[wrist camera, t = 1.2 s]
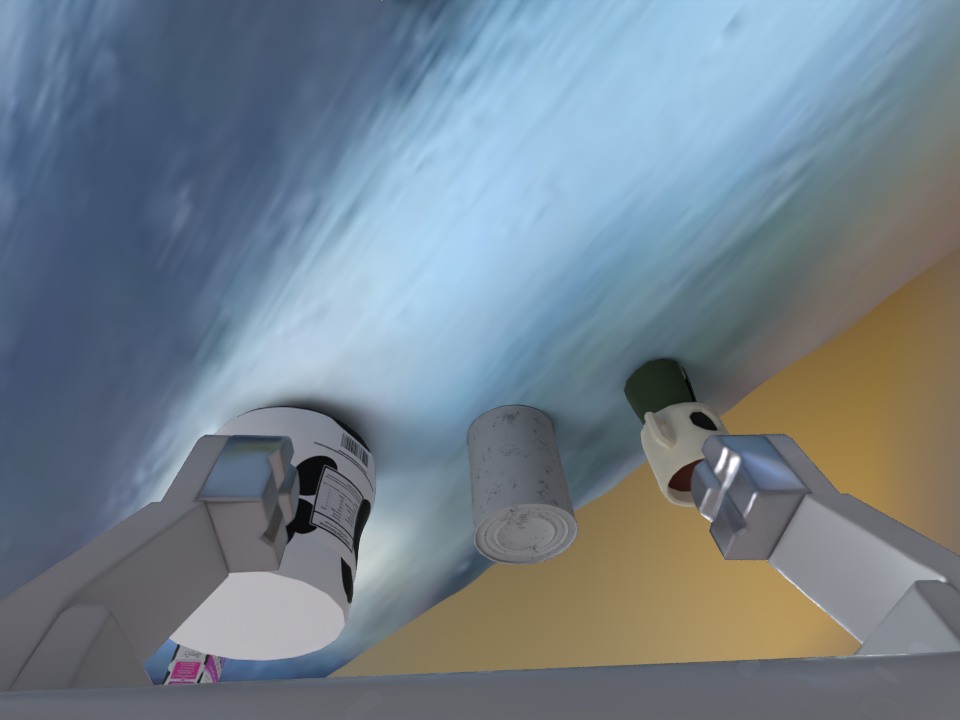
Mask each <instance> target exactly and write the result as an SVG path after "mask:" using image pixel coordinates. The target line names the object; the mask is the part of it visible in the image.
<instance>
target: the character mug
mask: <svg viewBox="0 0 960 720" xmlns="http://www.w3.org/2000/svg"><path fill="white" fill-rule="evenodd" d="M682 368H683V367H682ZM683 370H684V372H685V369H684V368H683ZM685 375H686V379H684V377H683V375H682V373H681V371H680V368H679V366H678V364H677V362H675V361H673V360H666V359H659V360H655V361H650V362H647V363H646V364H644V365H643V366H642V367H640V368H639V369H638V370H636V371H635V372H634V373H633V375H632V376H631V377H630V378H629V379H628V380H627V383H626V386H625V389H624V392H625V395H626V397H627V400H628V401H629V403H630V405H631V407H632V408H633V410H634V412H635V413H636V414H637V416H638V417H639V419H640V420H641V422H642V423H643V425H644V427H643V429H642V431H641V441H642V446H643V449H644V451H645V454H646V456H647V458H648V461H649V463H650V465H651V468H652V470H653V472H654V475H655V477H656V479H657V482H658V484H659V486H660V489H661V491H662V493H663V495H664V496H665V497H666V498H667V499H668V500H669V501H670V503H673V504H676V505H679V506H682V507H696V505H695V503H694V501H693V497H692V494H691V477H692V474H693V471H694V468H695V466H696V465H697V464H699V463H700V462H701V461H702V460H704V459H705V456H704V455H703V453H702V451H701V449H702V447H703V445H704V442H705V440H706V439H707V438H708V437H709V436H710V435H730V434H729V433H728V431H727V429H726V428H725V426H724V424H723V423H722V421H721V419H720V418H719V416H718V415H717V413H716V412H715V411H714V410H713V409H712V408H711V407H710V406H709V405H707V404H705V403H699V402H697V401H696V398H695V395H694V392H693V389H692V386H691V383H690V381H689V378H688V376H687V374H686V372H685Z"/></svg>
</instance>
